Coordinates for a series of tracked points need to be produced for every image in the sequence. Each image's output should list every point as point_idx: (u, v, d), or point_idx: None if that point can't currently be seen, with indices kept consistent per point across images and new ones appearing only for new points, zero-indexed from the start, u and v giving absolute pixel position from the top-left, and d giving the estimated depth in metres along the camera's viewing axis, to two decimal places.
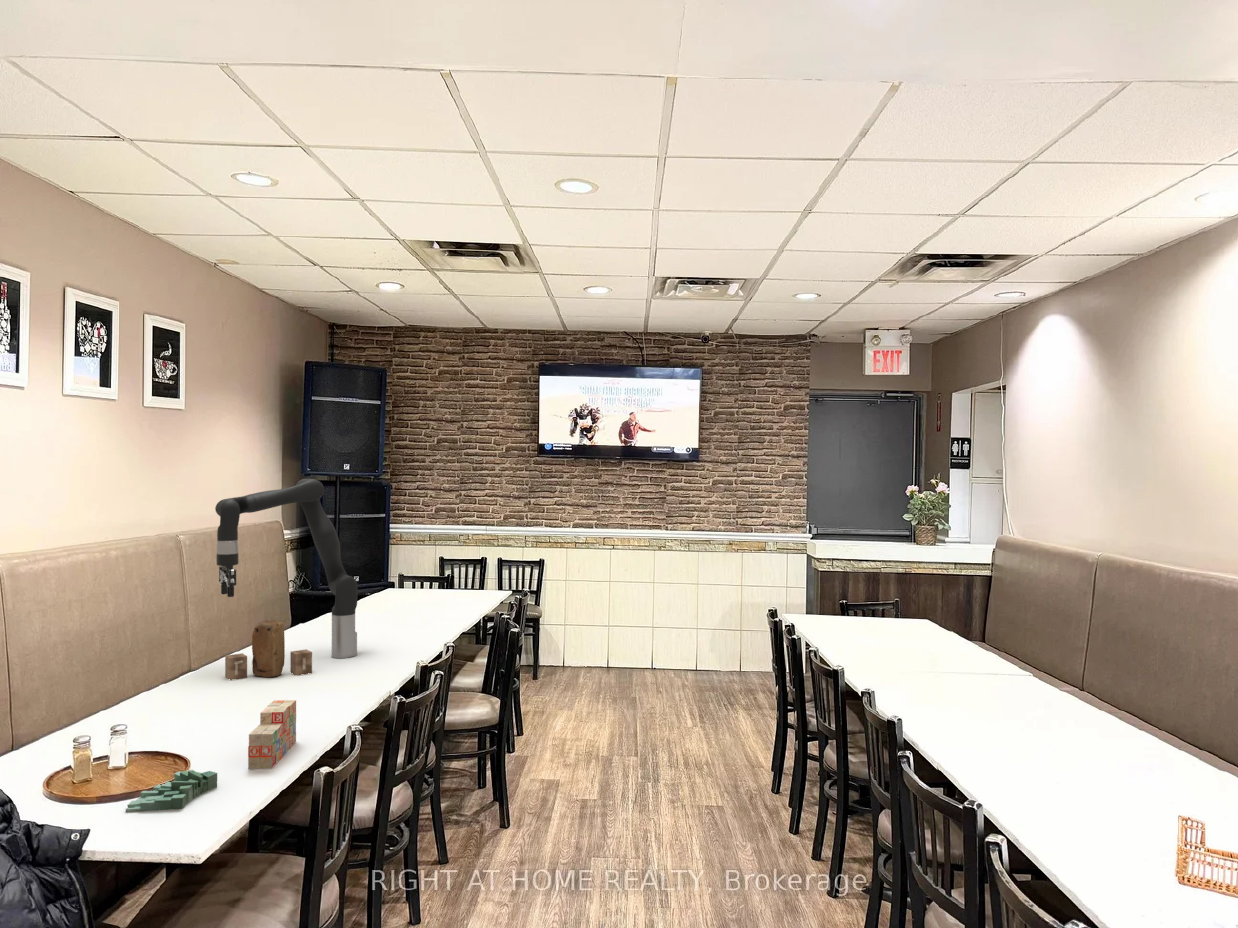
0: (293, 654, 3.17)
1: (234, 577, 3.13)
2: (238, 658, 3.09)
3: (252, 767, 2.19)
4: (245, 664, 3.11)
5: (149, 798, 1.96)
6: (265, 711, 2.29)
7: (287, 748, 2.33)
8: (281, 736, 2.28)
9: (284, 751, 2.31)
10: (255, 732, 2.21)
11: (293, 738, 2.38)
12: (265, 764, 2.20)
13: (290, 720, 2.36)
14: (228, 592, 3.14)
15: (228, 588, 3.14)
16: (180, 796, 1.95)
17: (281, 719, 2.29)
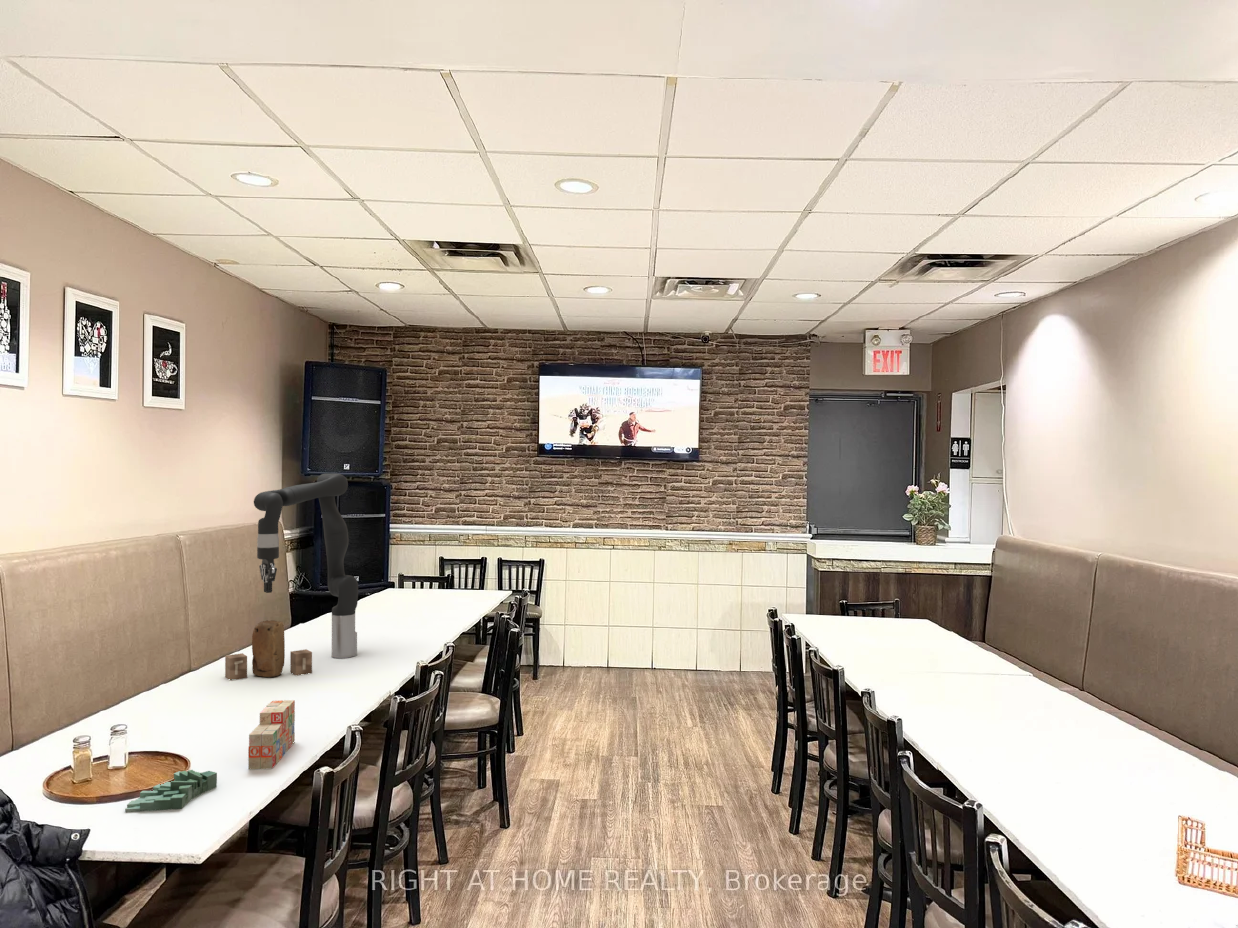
0: (293, 654, 3.17)
1: (274, 575, 3.11)
2: (238, 658, 3.09)
3: (252, 767, 2.19)
4: (245, 664, 3.11)
5: (148, 798, 1.96)
6: (264, 711, 2.29)
7: (286, 748, 2.33)
8: (281, 736, 2.27)
9: (283, 751, 2.31)
10: (255, 732, 2.21)
11: (292, 738, 2.38)
12: (265, 765, 2.20)
13: (289, 720, 2.36)
14: (266, 588, 3.13)
15: (266, 584, 3.13)
16: (179, 796, 1.95)
17: (281, 719, 2.29)
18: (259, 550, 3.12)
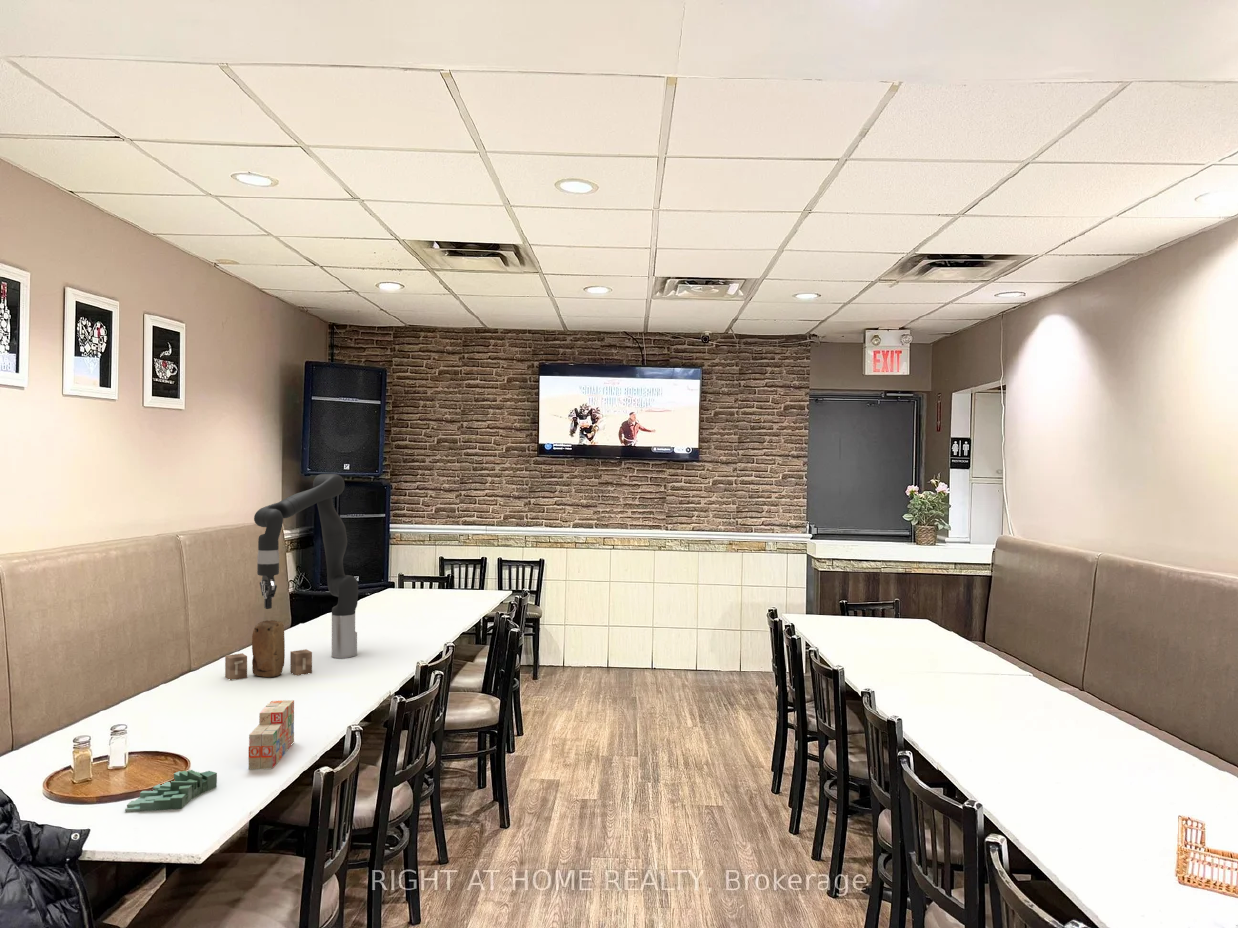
0: (293, 654, 3.17)
1: (273, 592, 3.12)
2: (238, 658, 3.09)
3: (252, 767, 2.19)
4: (245, 664, 3.11)
5: (148, 798, 1.96)
6: (264, 711, 2.29)
7: (286, 748, 2.33)
8: (281, 736, 2.27)
9: (283, 751, 2.31)
10: (255, 732, 2.21)
11: (291, 738, 2.38)
12: (265, 765, 2.20)
13: (288, 720, 2.36)
14: (266, 604, 3.14)
15: (266, 600, 3.14)
16: (179, 796, 1.95)
17: (280, 719, 2.29)
18: (259, 566, 3.12)
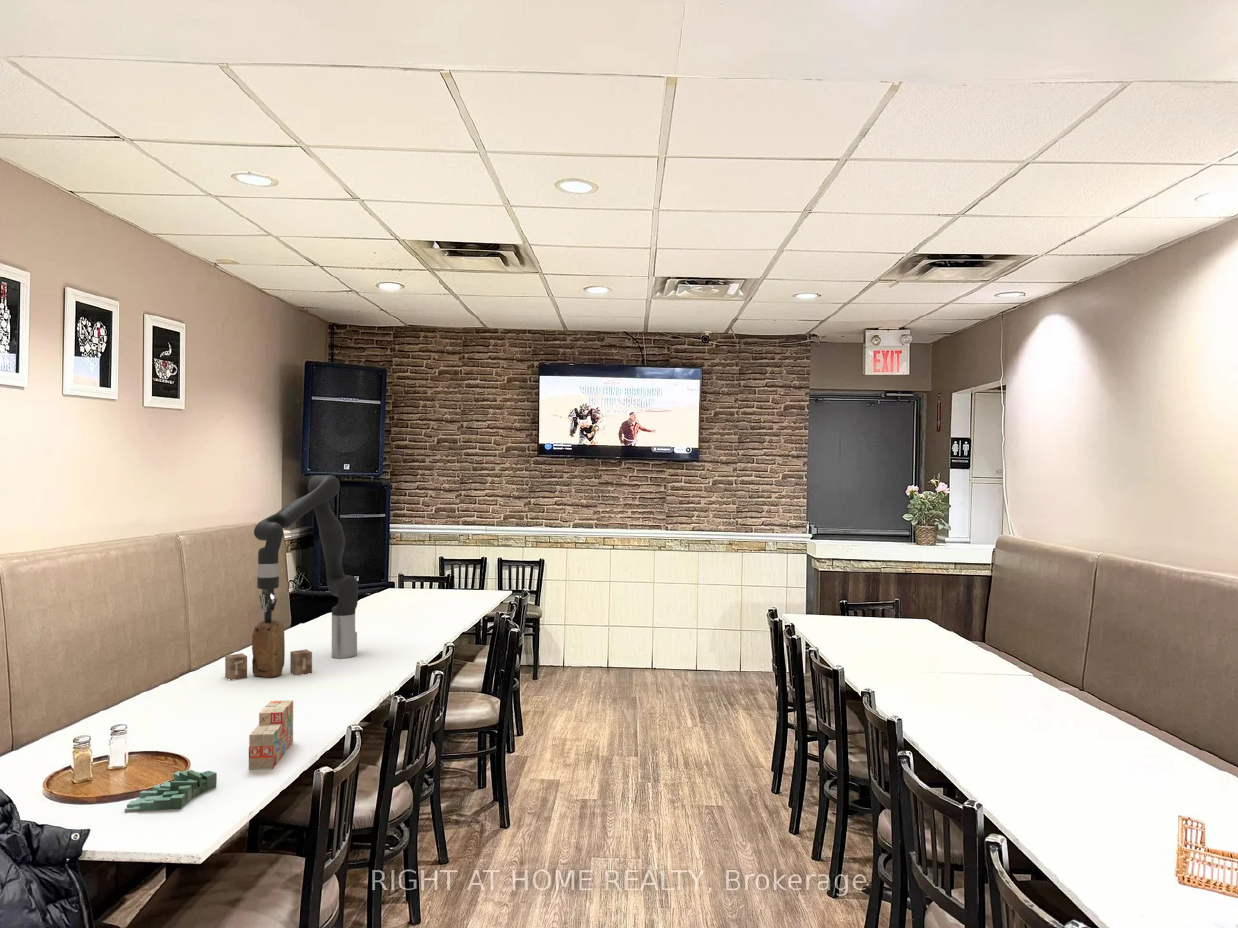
0: (293, 654, 3.17)
1: (273, 605, 3.12)
2: (238, 658, 3.09)
3: (253, 768, 2.19)
4: (245, 664, 3.11)
5: (148, 798, 1.96)
6: (264, 711, 2.29)
7: (285, 748, 2.33)
8: (280, 736, 2.27)
9: (283, 751, 2.31)
10: (255, 732, 2.20)
11: (290, 738, 2.38)
12: (265, 765, 2.20)
13: (288, 720, 2.36)
14: (266, 617, 3.14)
15: (266, 613, 3.14)
16: (179, 796, 1.95)
17: (280, 719, 2.29)
18: (259, 580, 3.12)
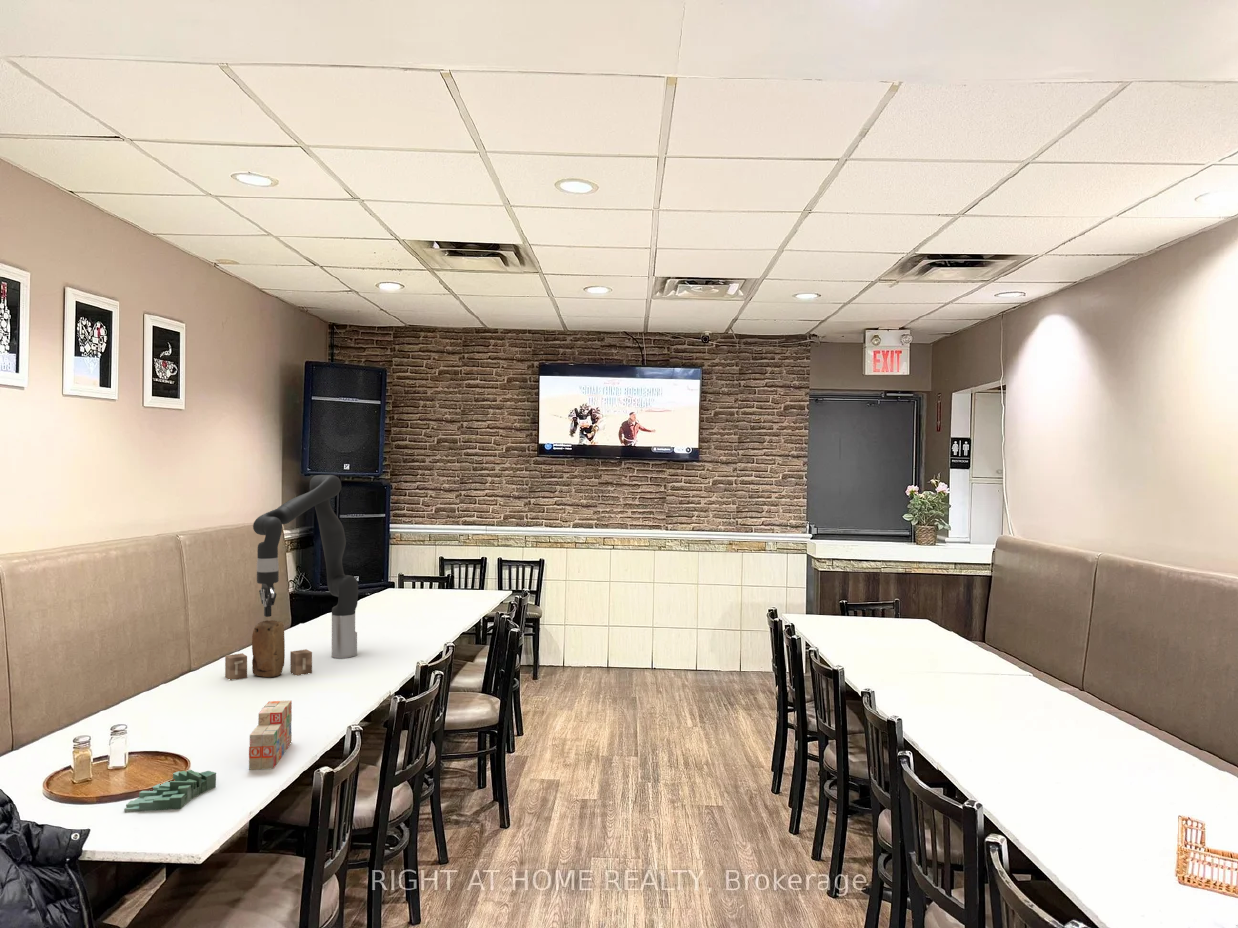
0: (293, 654, 3.17)
1: (273, 600, 3.12)
2: (238, 658, 3.09)
3: (253, 768, 2.19)
4: (245, 664, 3.11)
5: (148, 798, 1.96)
6: (263, 712, 2.29)
7: (284, 748, 2.33)
8: (280, 736, 2.27)
9: (282, 751, 2.30)
10: (255, 733, 2.20)
11: (289, 738, 2.38)
12: (266, 765, 2.19)
13: (287, 720, 2.35)
14: (266, 612, 3.14)
15: (265, 608, 3.14)
16: (179, 796, 1.95)
17: (280, 719, 2.29)
18: (259, 574, 3.12)
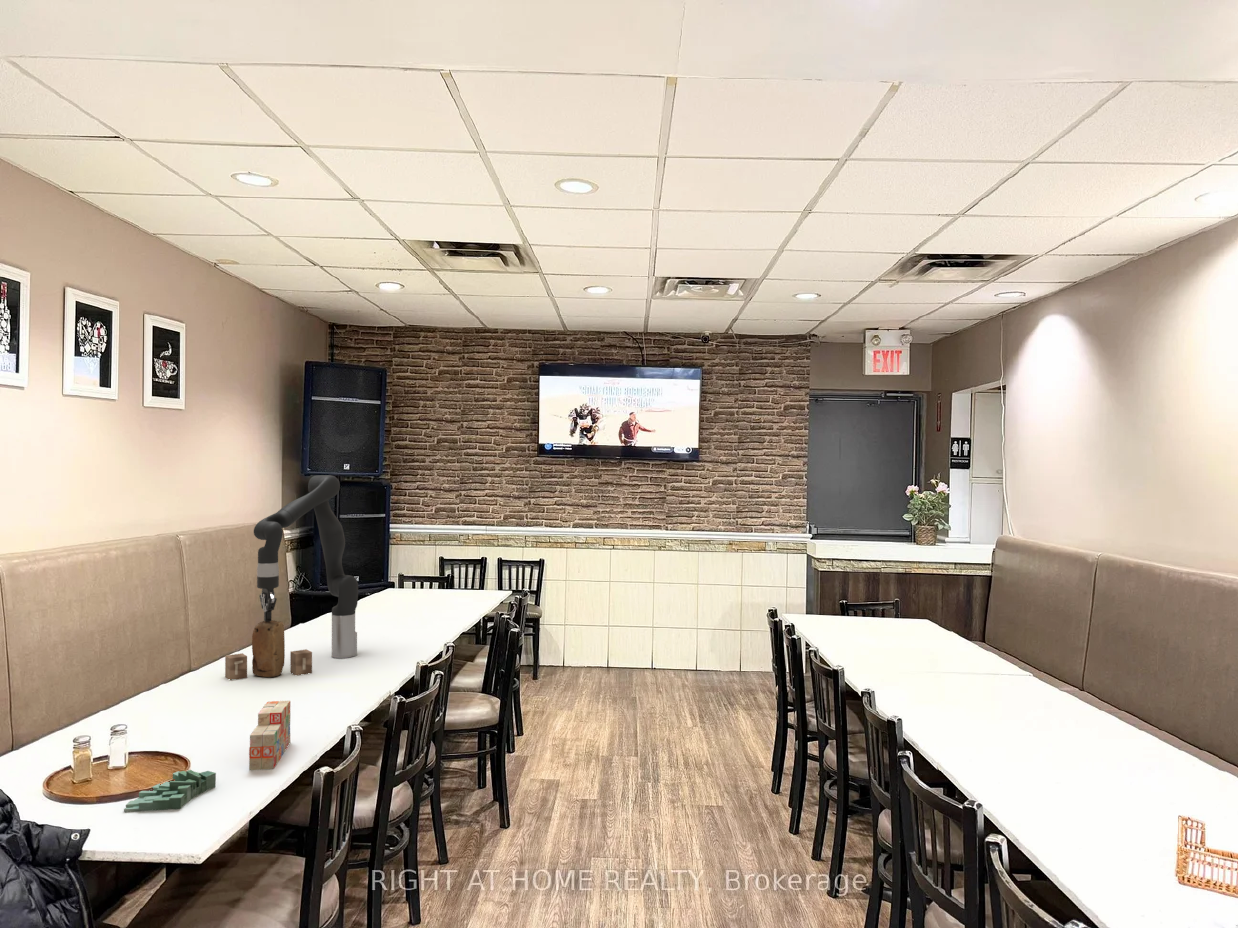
0: (293, 654, 3.17)
1: (273, 605, 3.12)
2: (238, 658, 3.09)
3: (253, 768, 2.19)
4: (245, 664, 3.11)
5: (147, 798, 1.96)
6: (262, 712, 2.29)
7: (284, 749, 2.33)
8: (280, 736, 2.27)
9: (282, 752, 2.30)
10: (255, 733, 2.20)
11: (288, 739, 2.38)
12: (266, 765, 2.19)
13: (286, 721, 2.35)
14: (266, 617, 3.14)
15: (266, 613, 3.14)
16: (178, 796, 1.95)
17: (279, 719, 2.29)
18: (259, 579, 3.12)
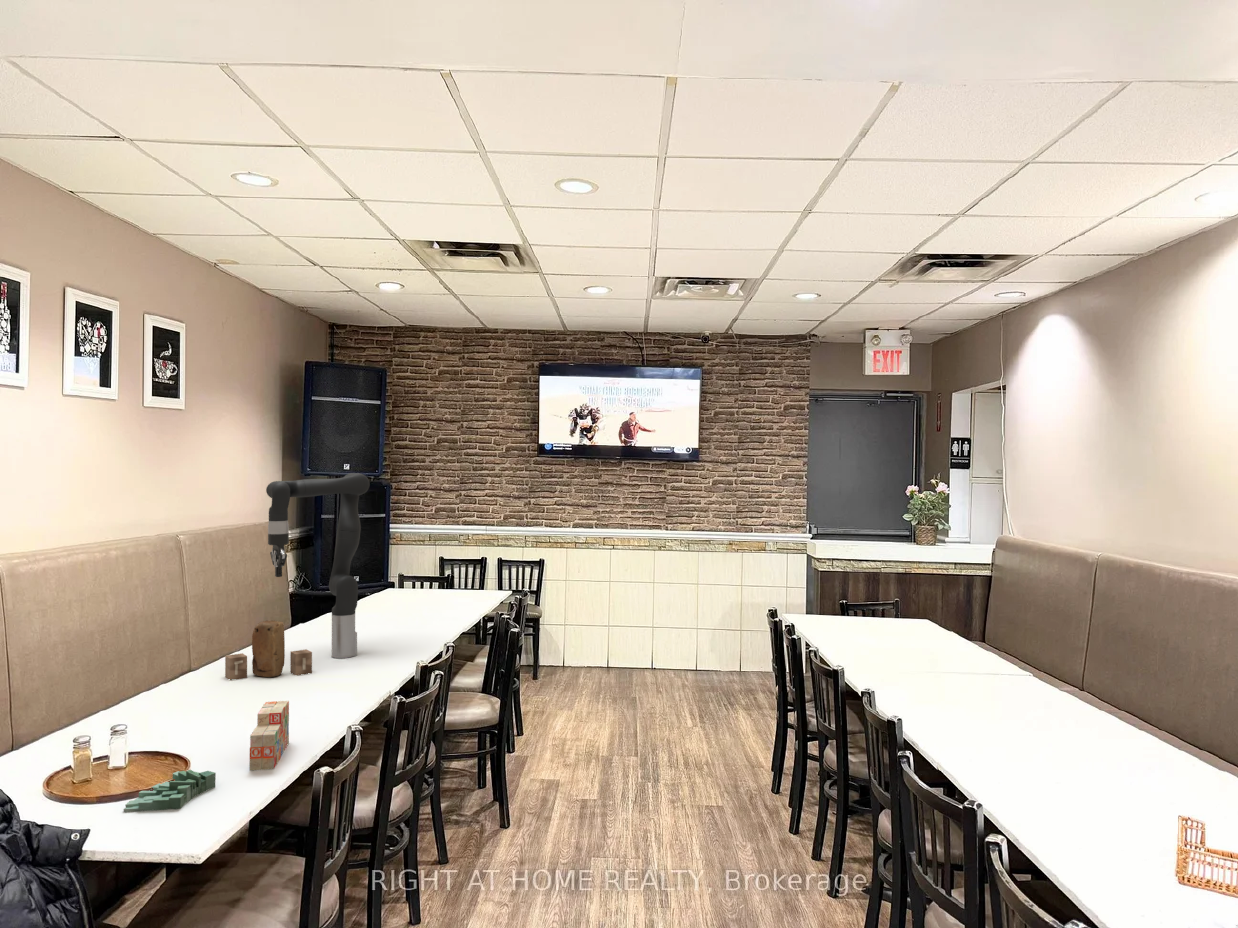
0: (293, 654, 3.17)
1: (284, 561, 3.27)
2: (238, 658, 3.09)
3: (254, 768, 2.19)
4: (245, 664, 3.11)
5: (147, 798, 1.96)
6: (262, 712, 2.28)
7: (283, 749, 2.33)
8: (280, 737, 2.27)
9: (281, 752, 2.30)
10: (256, 733, 2.20)
11: (287, 739, 2.38)
12: (267, 765, 2.19)
13: (285, 721, 2.35)
14: (276, 572, 3.29)
15: (276, 568, 3.29)
16: (178, 796, 1.95)
17: (279, 720, 2.28)
18: (270, 536, 3.26)
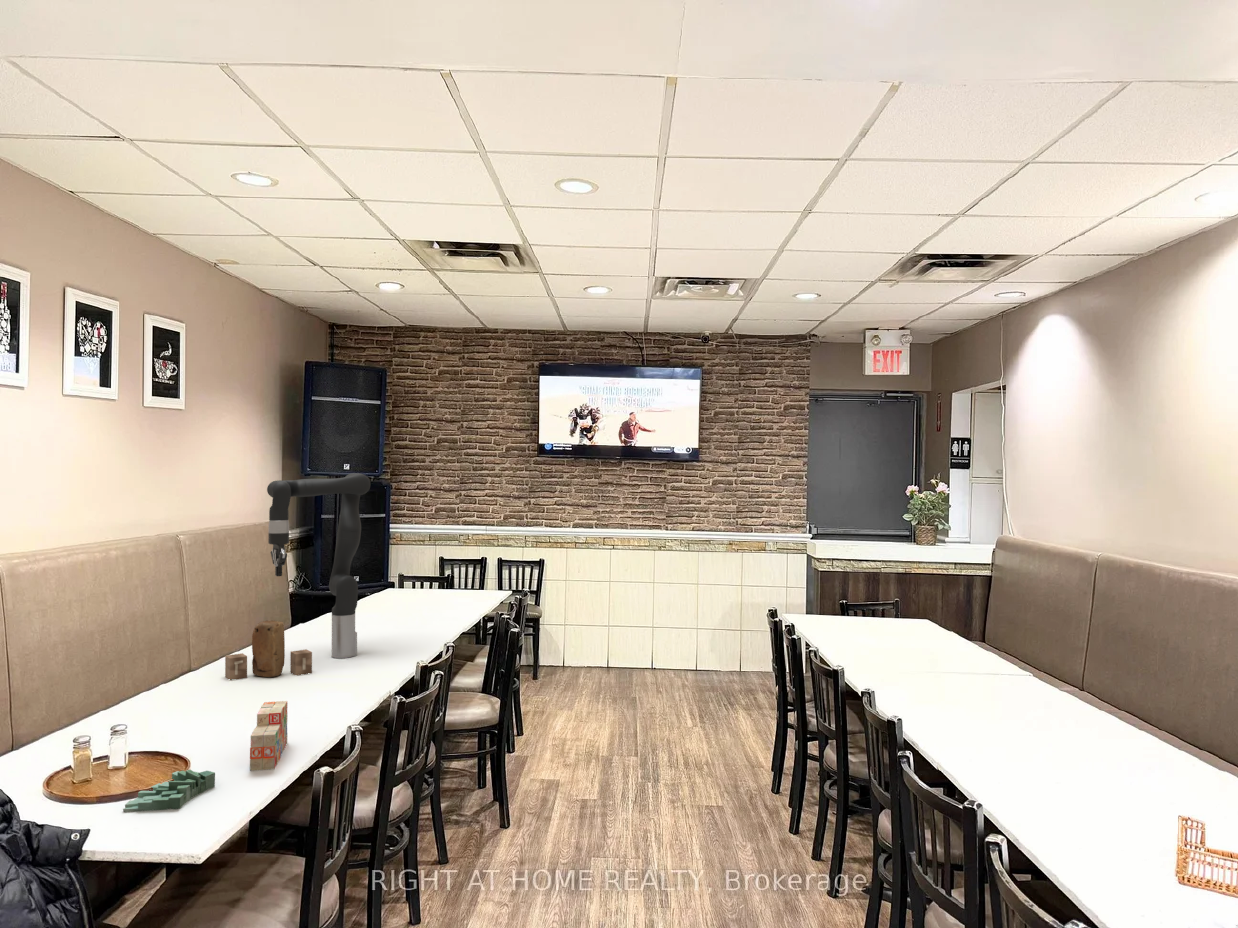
0: (293, 654, 3.17)
1: (284, 560, 3.27)
2: (238, 658, 3.09)
3: (254, 769, 2.18)
4: (245, 664, 3.11)
5: (147, 798, 1.96)
6: (261, 712, 2.28)
7: (282, 749, 2.33)
8: (279, 737, 2.27)
9: (281, 752, 2.30)
10: (256, 733, 2.20)
11: (286, 739, 2.38)
12: (267, 765, 2.19)
13: (284, 721, 2.35)
14: (277, 571, 3.29)
15: (277, 568, 3.29)
16: (178, 796, 1.95)
17: (278, 720, 2.28)
18: (270, 536, 3.27)
